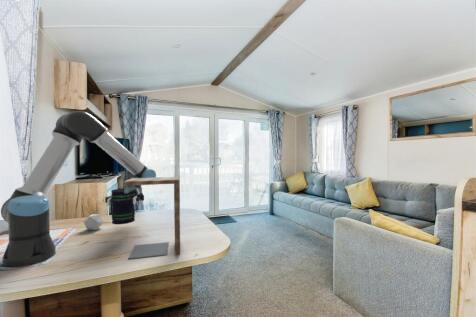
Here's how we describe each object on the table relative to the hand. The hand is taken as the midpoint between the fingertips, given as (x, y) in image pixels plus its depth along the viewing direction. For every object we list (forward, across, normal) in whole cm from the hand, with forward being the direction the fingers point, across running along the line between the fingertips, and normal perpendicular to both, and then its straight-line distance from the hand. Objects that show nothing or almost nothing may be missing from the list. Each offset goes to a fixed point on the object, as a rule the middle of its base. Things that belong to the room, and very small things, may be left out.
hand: (121, 202), depth 103 cm
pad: (+13, -14, -18) cm, 26 cm away
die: (-25, +19, -18) cm, 36 cm away
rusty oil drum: (-4, 0, -10) cm, 11 cm away
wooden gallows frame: (+14, -16, -18) cm, 28 cm away
